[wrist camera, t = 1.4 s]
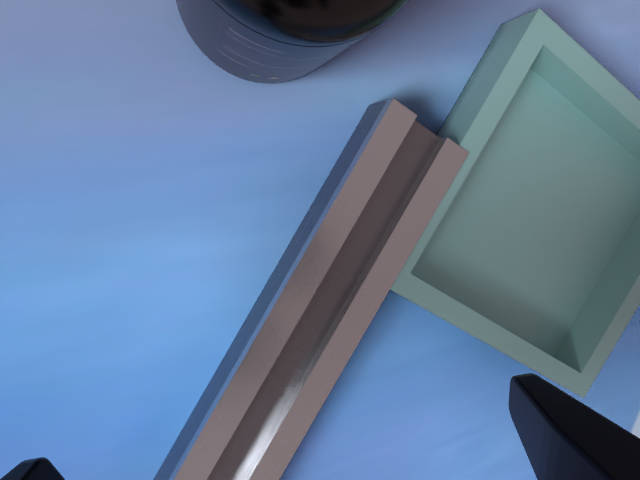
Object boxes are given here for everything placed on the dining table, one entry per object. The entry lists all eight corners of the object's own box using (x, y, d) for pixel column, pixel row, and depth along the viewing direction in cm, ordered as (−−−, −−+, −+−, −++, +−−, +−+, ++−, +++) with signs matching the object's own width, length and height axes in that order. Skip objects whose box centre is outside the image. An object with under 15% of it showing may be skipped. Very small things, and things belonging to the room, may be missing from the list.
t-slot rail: (223, 521, 22) (227, 567, 20) (144, 496, 21) (137, 542, 18) (437, 153, 22) (469, 153, 19) (369, 105, 20) (393, 98, 18)
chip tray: (547, 376, 26) (583, 398, 23) (358, 269, 22) (379, 283, 19) (668, 171, 26) (717, 172, 23) (500, 24, 21) (539, 8, 19)
